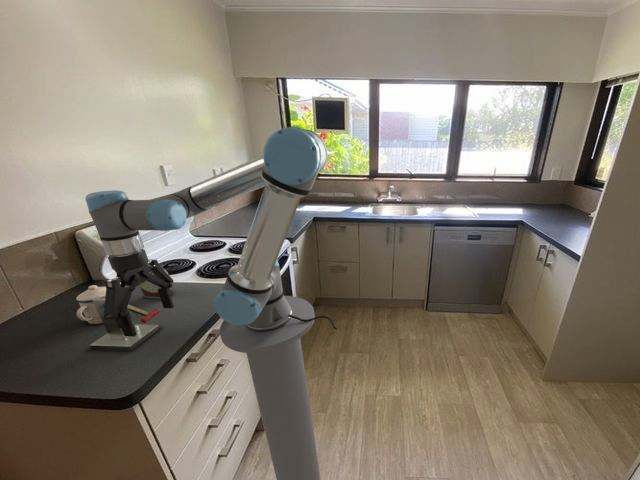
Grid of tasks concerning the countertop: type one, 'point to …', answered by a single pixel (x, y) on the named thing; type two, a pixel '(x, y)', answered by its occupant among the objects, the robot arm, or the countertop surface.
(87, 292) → the teacup with lid
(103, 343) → the bracket
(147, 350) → the countertop surface
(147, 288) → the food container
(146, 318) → the lever
